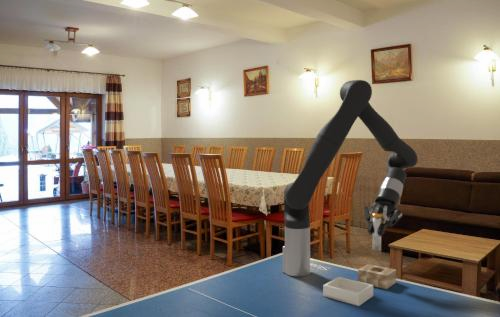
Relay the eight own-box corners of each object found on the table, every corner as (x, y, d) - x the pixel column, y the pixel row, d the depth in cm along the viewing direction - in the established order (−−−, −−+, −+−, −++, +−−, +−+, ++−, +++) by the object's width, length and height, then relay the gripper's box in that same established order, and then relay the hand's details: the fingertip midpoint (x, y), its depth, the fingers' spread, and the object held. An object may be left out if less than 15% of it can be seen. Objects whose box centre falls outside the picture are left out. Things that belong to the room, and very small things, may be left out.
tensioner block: (358, 282, 142) (358, 269, 142) (368, 276, 148) (368, 263, 148) (386, 289, 136) (386, 275, 135) (396, 282, 142) (396, 269, 141)
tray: (323, 296, 130) (323, 285, 130) (338, 287, 138) (338, 276, 138) (358, 306, 123) (358, 294, 122) (373, 295, 130) (373, 284, 130)
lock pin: (369, 249, 141) (370, 213, 140) (374, 247, 144) (374, 212, 143) (379, 251, 139) (380, 215, 138) (383, 249, 142) (384, 213, 141)
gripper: (367, 185, 150) (351, 224, 142) (406, 188, 141) (392, 230, 133) (373, 198, 155) (358, 236, 146) (412, 202, 146) (398, 243, 137)
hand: (374, 233), depth 139 cm, fingers closed on lock pin, 2 cm apart
